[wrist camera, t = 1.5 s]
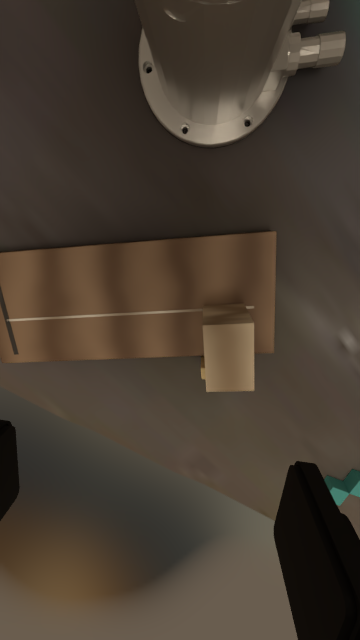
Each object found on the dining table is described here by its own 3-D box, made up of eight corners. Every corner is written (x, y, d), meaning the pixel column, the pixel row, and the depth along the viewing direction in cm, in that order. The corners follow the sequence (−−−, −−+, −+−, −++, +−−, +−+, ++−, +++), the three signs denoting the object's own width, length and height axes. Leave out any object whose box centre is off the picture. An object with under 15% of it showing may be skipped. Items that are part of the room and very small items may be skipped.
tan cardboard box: (246, 297, 30) (260, 322, 23) (246, 358, 32) (260, 400, 25) (198, 300, 31) (196, 325, 23) (201, 360, 33) (201, 402, 25)
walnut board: (270, 230, 29) (276, 231, 26) (268, 343, 32) (274, 352, 30) (-12, 253, 32) (-30, 255, 29) (15, 353, 35) (1, 363, 33)
